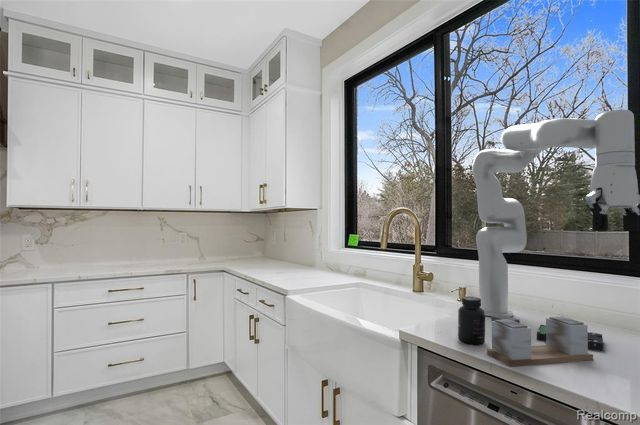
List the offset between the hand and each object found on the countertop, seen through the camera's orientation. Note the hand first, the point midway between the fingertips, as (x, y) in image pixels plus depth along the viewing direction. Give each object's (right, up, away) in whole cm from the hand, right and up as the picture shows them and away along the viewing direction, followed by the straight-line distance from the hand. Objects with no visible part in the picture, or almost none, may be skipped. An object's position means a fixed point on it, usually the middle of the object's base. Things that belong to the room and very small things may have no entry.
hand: (615, 231), depth 87 cm
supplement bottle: (-31, -31, +11) cm, 45 cm away
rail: (-19, -31, 0) cm, 36 cm away
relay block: (-18, -32, +17) cm, 40 cm away
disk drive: (-3, -32, +12) cm, 35 cm away
